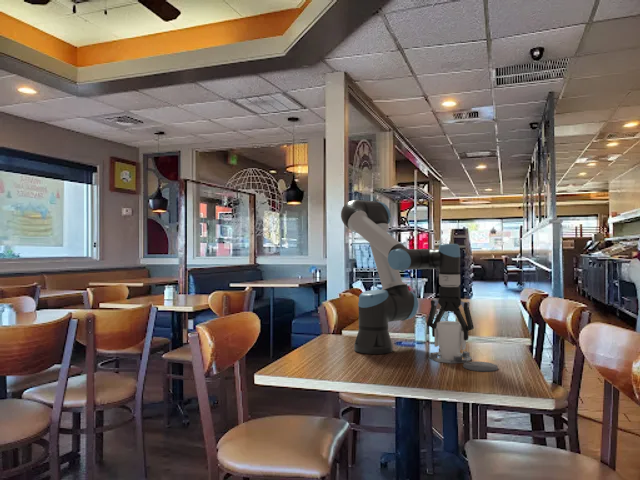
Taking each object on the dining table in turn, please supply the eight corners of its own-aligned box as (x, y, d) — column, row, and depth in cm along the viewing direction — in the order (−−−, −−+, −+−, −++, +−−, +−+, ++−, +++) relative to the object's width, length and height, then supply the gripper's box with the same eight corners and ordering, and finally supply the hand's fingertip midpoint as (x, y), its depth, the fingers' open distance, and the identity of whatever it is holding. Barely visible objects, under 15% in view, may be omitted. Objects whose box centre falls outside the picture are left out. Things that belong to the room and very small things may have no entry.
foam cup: (464, 362, 172) (464, 325, 172) (437, 361, 174) (437, 324, 174) (462, 356, 181) (461, 321, 182) (436, 355, 183) (436, 320, 183)
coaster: (458, 368, 163) (458, 366, 163) (469, 362, 172) (469, 359, 172) (492, 373, 157) (492, 370, 157) (501, 366, 166) (501, 364, 166)
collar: (424, 359, 176) (424, 353, 176) (439, 352, 187) (438, 347, 187) (462, 365, 168) (462, 358, 168) (474, 357, 179) (474, 351, 179)
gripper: (417, 285, 181) (417, 345, 181) (476, 288, 169) (477, 353, 168) (425, 284, 187) (425, 342, 187) (483, 286, 175) (483, 349, 174)
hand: (450, 347), depth 178 cm, fingers closed on foam cup, 9 cm apart
